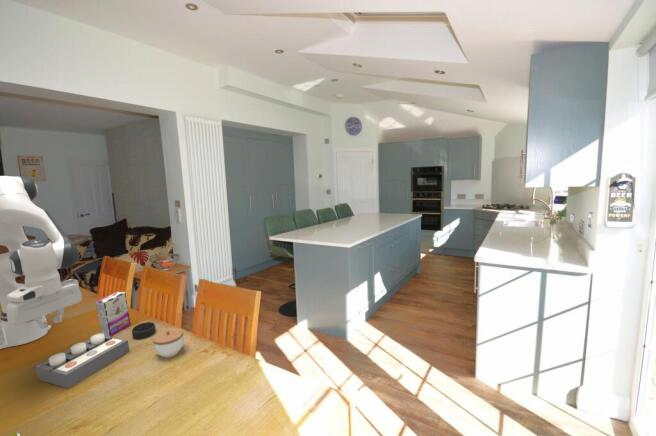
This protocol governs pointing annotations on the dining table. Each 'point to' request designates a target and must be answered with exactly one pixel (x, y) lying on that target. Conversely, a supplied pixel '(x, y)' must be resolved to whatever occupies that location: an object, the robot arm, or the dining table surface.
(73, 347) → the button
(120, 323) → the candy bar box
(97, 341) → the button
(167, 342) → the lidded jar
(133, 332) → the smart speaker
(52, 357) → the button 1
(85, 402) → the dining table surface
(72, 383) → the button board
